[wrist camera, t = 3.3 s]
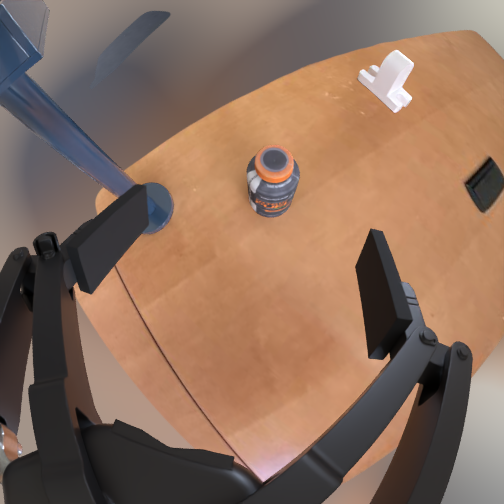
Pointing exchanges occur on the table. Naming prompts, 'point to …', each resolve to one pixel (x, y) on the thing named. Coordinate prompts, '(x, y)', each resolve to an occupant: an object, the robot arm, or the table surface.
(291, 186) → the pill bottle
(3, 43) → the square tray stand
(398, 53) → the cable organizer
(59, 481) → the robot arm
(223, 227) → the table surface
